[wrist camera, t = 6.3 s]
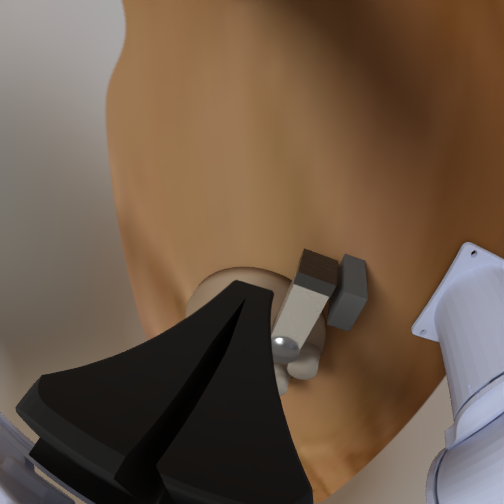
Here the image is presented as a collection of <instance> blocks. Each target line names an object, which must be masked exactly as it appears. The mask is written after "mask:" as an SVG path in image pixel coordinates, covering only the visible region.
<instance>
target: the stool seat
mask: <svg viewBox="0 0 504 504" xmlns="http://www.w3.org/2000/svg"><path fill="white" fill-rule="evenodd" d="M234 280H239V281H243V282H246V283H249V284H253V285H256V286H259V287H263V288H266V289H269V290H272V291H273V293H274V298H273V302H272V308H271V327H272V324H273V321H274V319H275V317H276V316H277V315H278V313H279V311H280V308H281V306H282V304H283V301H284V299H285V297H286V294H287V292H288V289H289V287H290V285H291V282H292V280H290V279H288V278H286V277H284V276H282V275H280V274H277V273H275V272H272V271H268V270H265V269H260V268H254V267H233V268H228V269H224V270H221V271H218V272H216V273H214V274H212V275H210V276H208V277H207V278H206V279H204V280H203V281H202V282H201V284H200V285H199V286H198V287H197V289H196V290H195V292H194V293H193V295H192V296H191V298H190V299H189V302H188V304H187V308H186V318H187V317H188V316H190V315H191V314H193V313H194V312H196V311H197V310H198V309H200V308H201V307H202V306H204V305H205V304H206V303H208V302H209V301H210V300H211V299H213V298H214V297H215V296H216V295H218V294H219V293H220V292H221V291H222V290H224V289H225V288H226V287H227V286H228V285H229V284H230V283H231V282H232V281H234ZM325 336H326V324H325V319H324V316H323V313H322V311H321V313H320V315H319V317H318V319H317V321H316V322H315V324H314V326H313V328H312V330H311V331H310V333H309V335H308V337H307V338H306V340H305V342H304V344H303V345H302V347H301V349H300V352H299V356H298V358H297V360H296V361H294V362H292V363H288V364H282V363H277V362H275V361H273V362H274V369H275V375H276V381H277V386H278V391H279V395H280V396H281V395H284V394H285V393H286V391H287V387H288V383H289V379H290V378H293V377H295V378H297V379H302V380H306V379H311V378H313V377H315V376H316V374H317V371H318V365H319V359H320V357H321V355H322V352H323V349H324V344H325Z"/></svg>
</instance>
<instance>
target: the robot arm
mask: <svg viewBox="0 0 504 504" xmlns="http://www.w3.org/2000/svg"><path fill="white" fill-rule="evenodd" d="M474 250H475V253H474V254H473V255H471V253H472V251H474ZM273 298H274V293H273V291H272V290H269V289H266V288H263V287H259V286H256V285H253V284H249V283H246V282H243V281H239V280H234V281H232V282H231V283H230V284H229V285H228V286H227V287H226V288H225V289H224V290H222V291H221V292H220V293H219V294H218V295H216V296H215V297H214V298H213V299H211V300H210V301H209V302H208V303H206V304H205V305H204V306H202V307H201V308H200V309H198V310H197V311H196V312H194V313H193V314H191V315H190V316H188V317H187V318H185V319H184V320H182V321H181V322H179V323H178V324H176V325H175V326H173V327H172V328H170V329H168V330H166V331H165V332H163V333H161V334H160V335H158V336H156V337H154V338H152V339H150V340H148V341H146V342H144V343H142V344H140V345H138V346H136V347H134V348H132V349H129V350H127V351H125V352H122V353H120V354H118V355H115V356H113V357H109V358H107V359H104V360H100V361H97V362H94V363H91V364H88V365H86V366H82V367H78V368H74V369H69V370H65V371H60V372H56V373H51V374H45V375H42V376H41V377H40V378H39V379H38V380H37V381H36V382H35V383H34V384H33V386H32V387H31V388H30V389H29V390H28V392H27V393H26V394H25V396H24V397H23V398H22V399H21V401H20V402H19V403H18V405H17V406H16V412H17V413H18V414H19V416H20V417H21V418H22V419H23V420H24V421H25V422H26V423H27V424H28V425H29V427H30V428H31V429H32V430H34V432H35V433H36V434H37V435H38V436H39V437H40V438H39V440H38V441H37V443H36V444H35V443H33V442H32V441H31V440H30V439H29V438H28V437H26V436H25V435H24V434H23V433H22V432H21V431H20V430H19V429H18V428H16V427H15V426H14V425H13V424H12V423H11V422H10V421H9V420H8V419H7V418H6V417H5V416H4V415H3V414H2V413H1V412H0V504H75V502H74V500H72V499H71V498H70V497H69V496H68V495H66V494H65V493H64V492H62V491H61V490H60V489H58V488H57V487H56V486H54V485H53V484H51V483H50V482H48V481H47V480H45V479H44V478H43V477H41V476H40V475H38V474H37V473H35V471H34V465H35V466H36V467H37V468H39V469H40V470H41V471H42V472H44V473H45V474H46V475H47V476H49V477H50V478H51V479H53V480H54V481H55V482H57V483H58V484H59V485H60V486H62V487H63V488H65V489H66V490H67V491H69V492H70V493H72V494H74V495H75V496H76V497H78V498H79V499H81V500H82V501H84V502H85V503H87V504H313V493H312V487H311V485H310V482H309V480H308V478H307V476H306V474H305V471H304V469H303V467H302V464H301V462H300V459H299V457H298V454H297V451H296V449H295V446H294V443H293V441H292V438H291V434H290V431H289V428H288V425H287V421H286V418H285V415H284V411H283V408H282V404H281V400H280V395H279V391H278V386H277V381H276V375H275V369H274V362H273V354H272V342H271V308H272V302H273ZM411 330H412V333H413V334H414V335H416V336H420V337H423V338H426V339H430V340H433V341H437V342H439V343H440V347H441V352H442V356H443V361H444V365H445V370H446V375H447V380H448V386H449V391H450V398H451V404H452V410H453V418H454V424H453V425H452V426H451V427H450V428H449V429H447V430H446V431H445V441H446V448H444V449H443V450H442V451H440V452H439V454H438V455H437V456H436V457H435V459H434V460H433V462H432V464H431V466H430V469H429V472H428V475H427V481H426V504H504V259H503V258H501V257H499V256H497V255H495V254H493V253H491V252H489V251H487V250H485V249H483V248H481V247H479V246H477V245H475V244H473V243H471V242H466V243H464V244H463V245H462V246H461V248H460V250H459V252H458V254H457V256H456V257H455V259H454V261H453V263H452V265H451V266H450V268H449V270H448V271H447V273H446V275H445V277H444V278H443V280H442V281H441V283H440V285H439V286H438V288H437V290H436V291H435V293H434V294H433V296H432V297H431V299H430V301H429V302H428V304H427V305H426V307H425V308H424V310H423V311H422V313H421V314H420V316H419V317H418V318H417V320H416V321H415V323H414V324H413V326H412V328H411ZM422 330H424V331H422Z"/></svg>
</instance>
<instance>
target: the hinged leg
mask: <svg viewBox="0 0 504 504" xmlns="http://www.w3.org/2000/svg"><path fill="white" fill-rule="evenodd" d="M337 267H338V261H337V260H334V259H331V258H329V257H326V256H323V255H320V254H318V253H315V252H312V251H310V250H307V249H304V250H303V253H302V255H301V258H300V261H299V264H298V268H297V270H296V273H295V275H294V277H293V280H292V282H291V285H290V287H289V289H288V292H287V294H286V297H285V299H284V301H283V304H282V306H281V308H280V311H279V313H278V315H277V316H276V317H275V319H274V321H273V324H272V327H271V342H272V354H273V361H275V362H277V363H282V364H288V363H292V362H294V361H296V360H297V358H298V356H299V352H300V349H301V347H302V345H303V344H304V342H305V340H306V338H307V337H308V335H309V333H310V331H311V330H312V328H313V326H314V324H315V322H316V321H317V319H318V317H319V315H320V313H321V311H322V310H323V308H324V306H325V304H326V302H327V300H328V298H329V297H331V295H332V293H333V291H334V289H335V287H336V283H337Z"/></svg>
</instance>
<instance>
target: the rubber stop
mask: <svg viewBox="0 0 504 504" xmlns="http://www.w3.org/2000/svg"><path fill="white" fill-rule="evenodd" d="M367 300H368V293H367V279H366V267H365V261H364V260H361V259H358V258H355V257H353V256H350V255H347V254H345V255H344V257H343V259H342V261H341V264H340V266H339V268H338V270H337V283H336V287H335V289H334V291H333V293H332V295H331V297H330V302H329V311H328V319H327V325H330V326H333V327H336V328H340V329H343V330H346V331H350V329H351V328H352V326H353V324H354V323H355V321H356V319H357V318H358V316H359V314H360V313H361V311H362V309H363V307H364V306H365V304H366V302H367Z"/></svg>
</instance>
